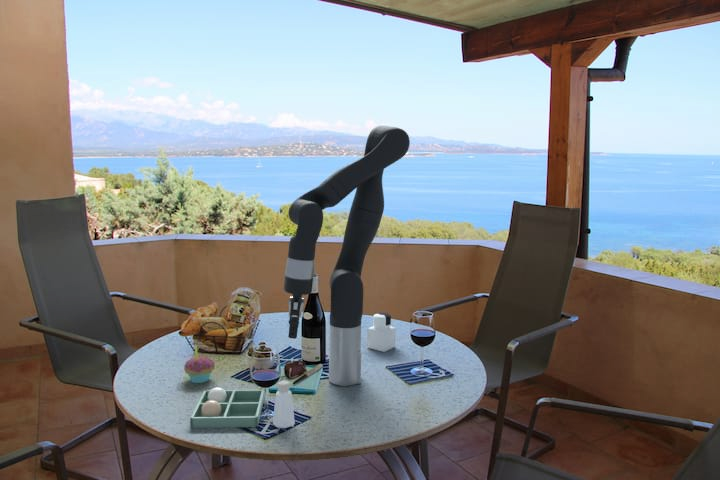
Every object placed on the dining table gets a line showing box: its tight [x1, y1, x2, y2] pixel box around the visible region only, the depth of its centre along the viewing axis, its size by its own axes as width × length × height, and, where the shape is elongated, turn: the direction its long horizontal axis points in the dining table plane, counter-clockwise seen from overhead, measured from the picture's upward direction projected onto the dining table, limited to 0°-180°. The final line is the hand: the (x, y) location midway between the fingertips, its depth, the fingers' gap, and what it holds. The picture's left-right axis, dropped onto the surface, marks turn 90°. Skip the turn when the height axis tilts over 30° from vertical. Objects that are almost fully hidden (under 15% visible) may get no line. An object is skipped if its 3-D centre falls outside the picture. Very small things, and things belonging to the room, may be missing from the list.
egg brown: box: [201, 400, 221, 417], centre depth 134 cm, size 5×5×5 cm
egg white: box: [208, 386, 227, 403], centre depth 142 cm, size 5×5×5 cm
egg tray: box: [189, 389, 265, 429], centre depth 138 cm, size 16×16×3 cm
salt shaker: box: [272, 380, 296, 429], centre depth 133 cm, size 5×5×11 cm
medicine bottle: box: [367, 312, 397, 353], centre depth 189 cm, size 7×7×12 cm
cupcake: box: [183, 343, 216, 384], centre depth 157 cm, size 9×8×12 cm
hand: (293, 332), depth 148 cm, fingers open, 8 cm apart
